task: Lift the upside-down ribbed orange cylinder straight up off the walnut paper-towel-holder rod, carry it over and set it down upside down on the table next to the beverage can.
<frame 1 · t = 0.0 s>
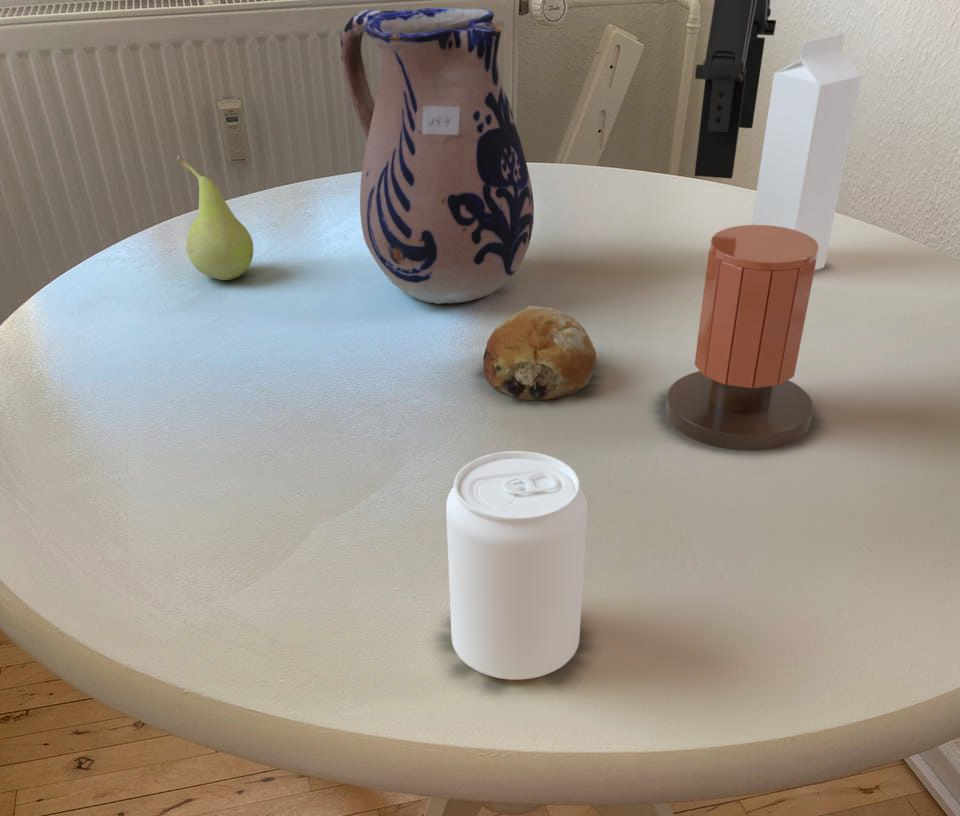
hand: (725, 150, 83), 19 cm above the table, tool pointing down, fingers open, 13 cm apart
bread roll: (537, 381, 96), on the table
beverage can: (515, 646, 68), on the table
milk: (784, 267, 115), on the table
fruit: (223, 279, 115), on the table
ceramic pitcher: (435, 287, 112), on the table
ribbed orange cylinder: (745, 365, 87), point 5 cm above the table, touching towel holder
towel holder: (737, 415, 90), on the table
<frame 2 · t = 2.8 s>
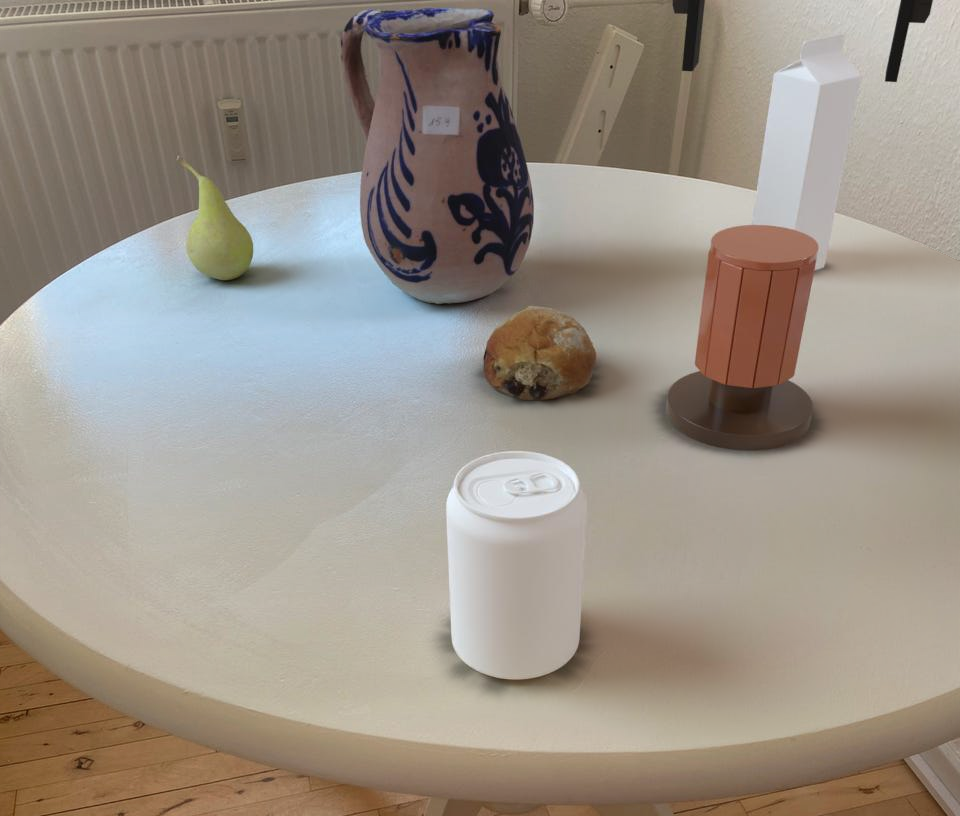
hand: (788, 72, 73), 26 cm above the table, tool pointing down, fingers open, 13 cm apart
nothing on the table moved.
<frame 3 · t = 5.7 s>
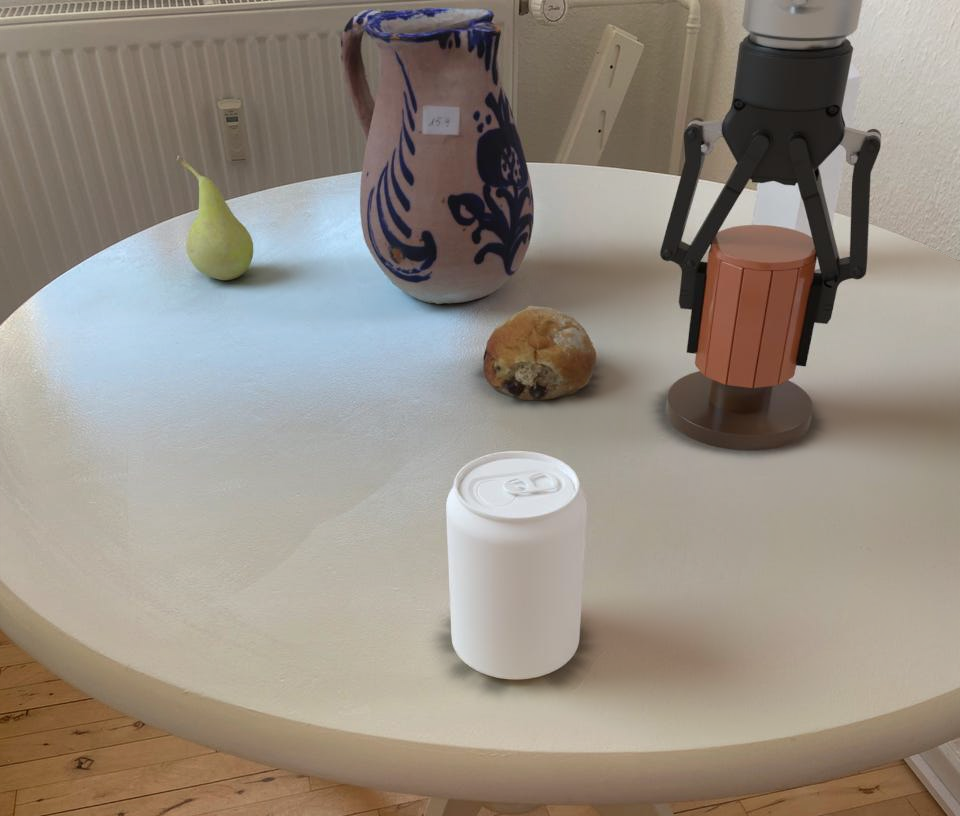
hand: (747, 352, 86), 6 cm above the table, tool pointing down, fingers closed on ribbed orange cylinder, 8 cm apart
ribbed orange cylinder: (745, 365, 87), point 5 cm above the table, touching gripper, towel holder
everything else where it was.
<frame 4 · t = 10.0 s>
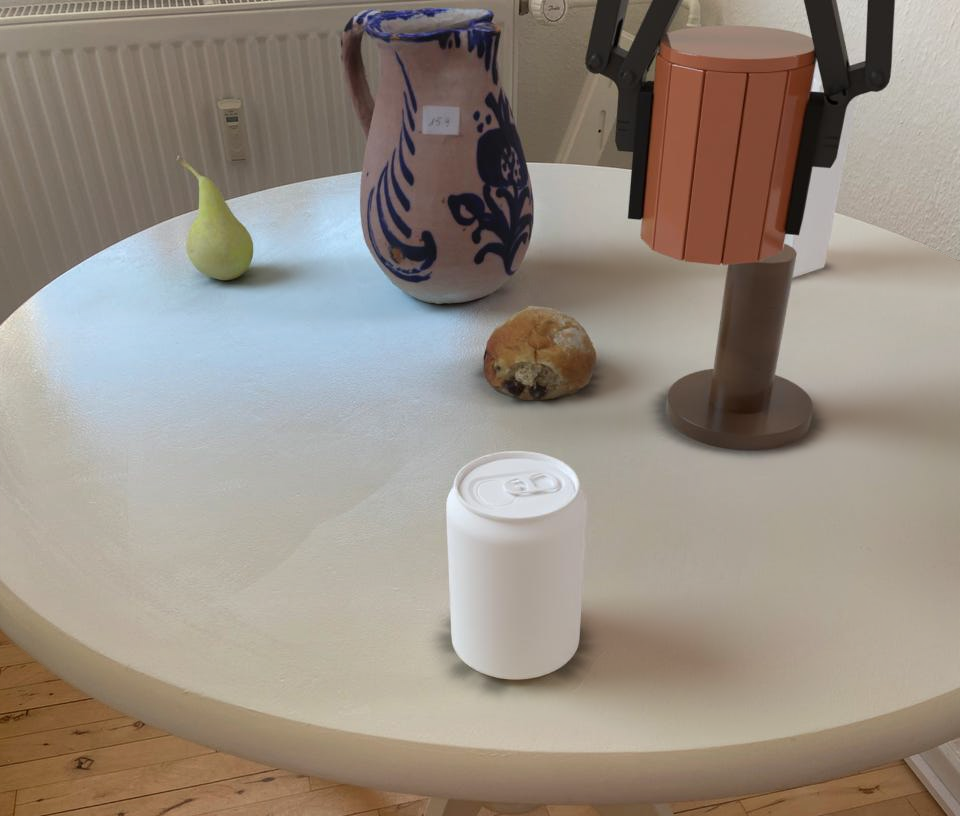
hand: (715, 218, 60), 23 cm above the table, tool pointing down, fingers closed on ribbed orange cylinder, 8 cm apart
ribbed orange cylinder: (712, 238, 61), point 22 cm above the table, touching gripper
everything else where it was.
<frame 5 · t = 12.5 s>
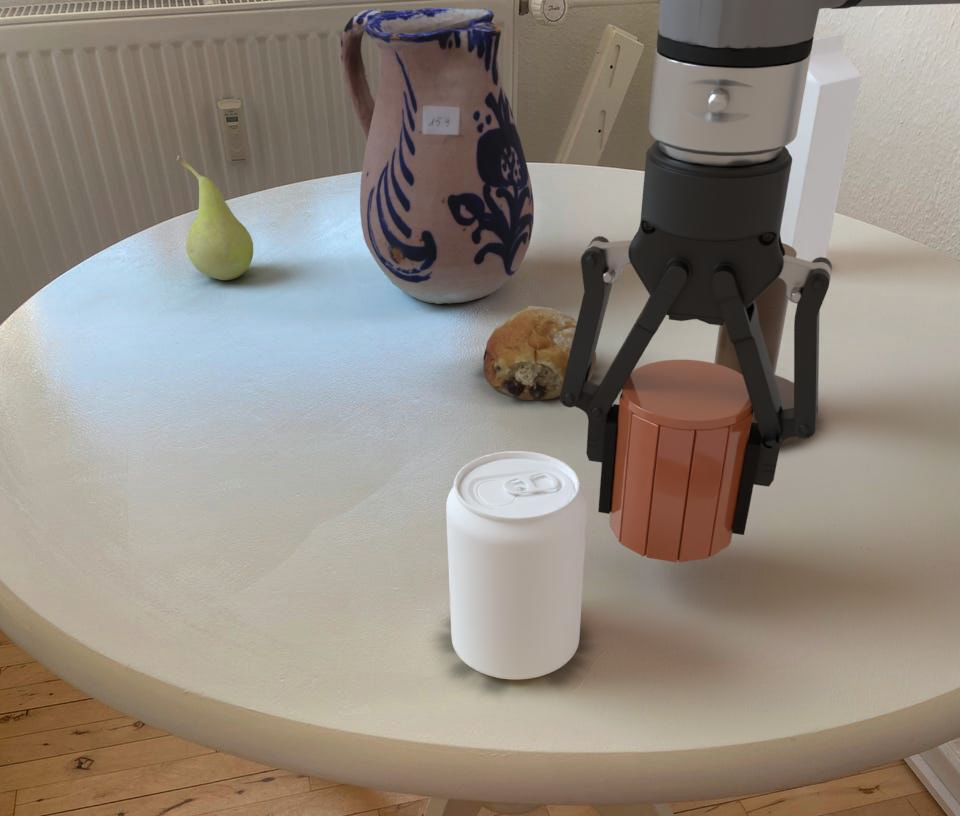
hand: (673, 512, 70), 5 cm above the table, tool pointing down, fingers closed on ribbed orange cylinder, 8 cm apart
ribbed orange cylinder: (671, 526, 70), point 4 cm above the table, touching gripper
everything else where it was.
when the fingers open (1 cm above the table, at t = 14.2 s): ribbed orange cylinder stays where it is, on the table.
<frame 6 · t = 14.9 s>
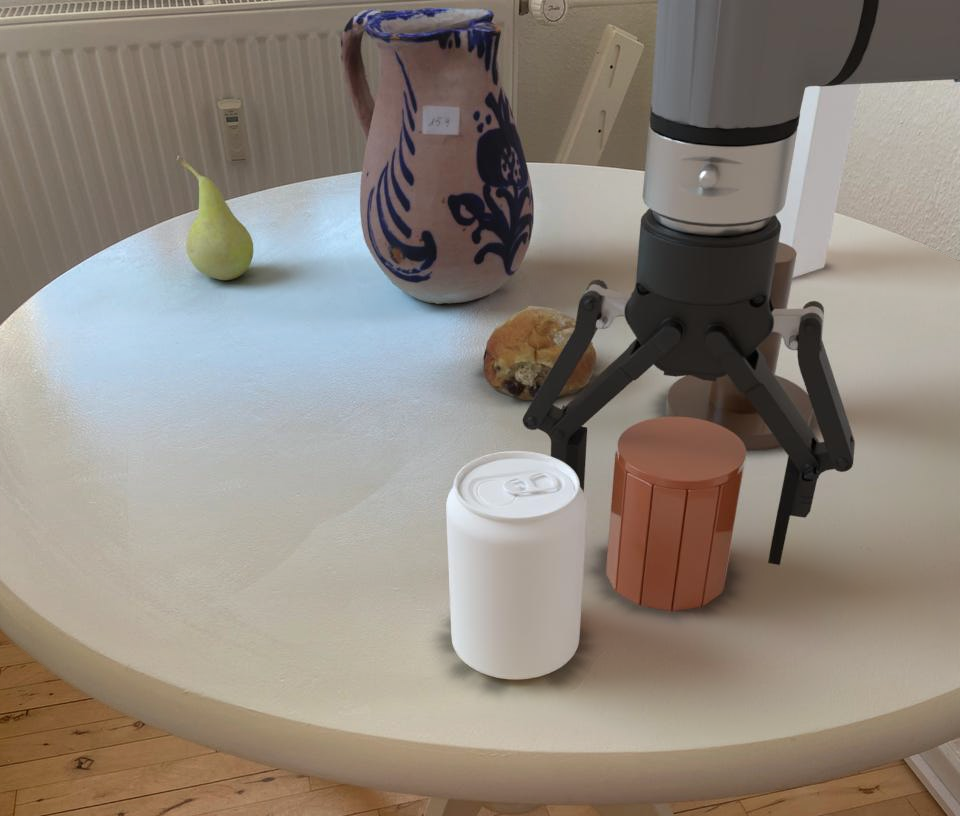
hand: (672, 536, 71), 3 cm above the table, tool pointing down, fingers open, 13 cm apart
ribbed orange cylinder: (665, 574, 73), on the table
everything else where it was.
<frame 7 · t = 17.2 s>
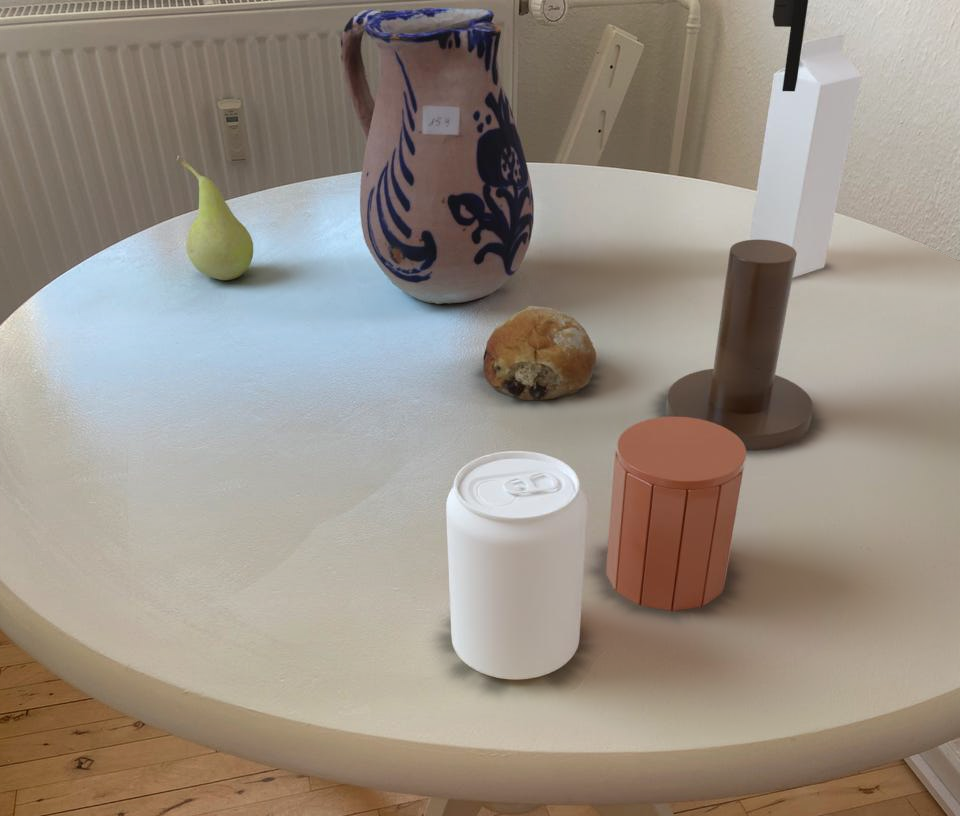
hand: (904, 89, 65), 27 cm above the table, tool pointing down, fingers open, 13 cm apart
nothing on the table moved.
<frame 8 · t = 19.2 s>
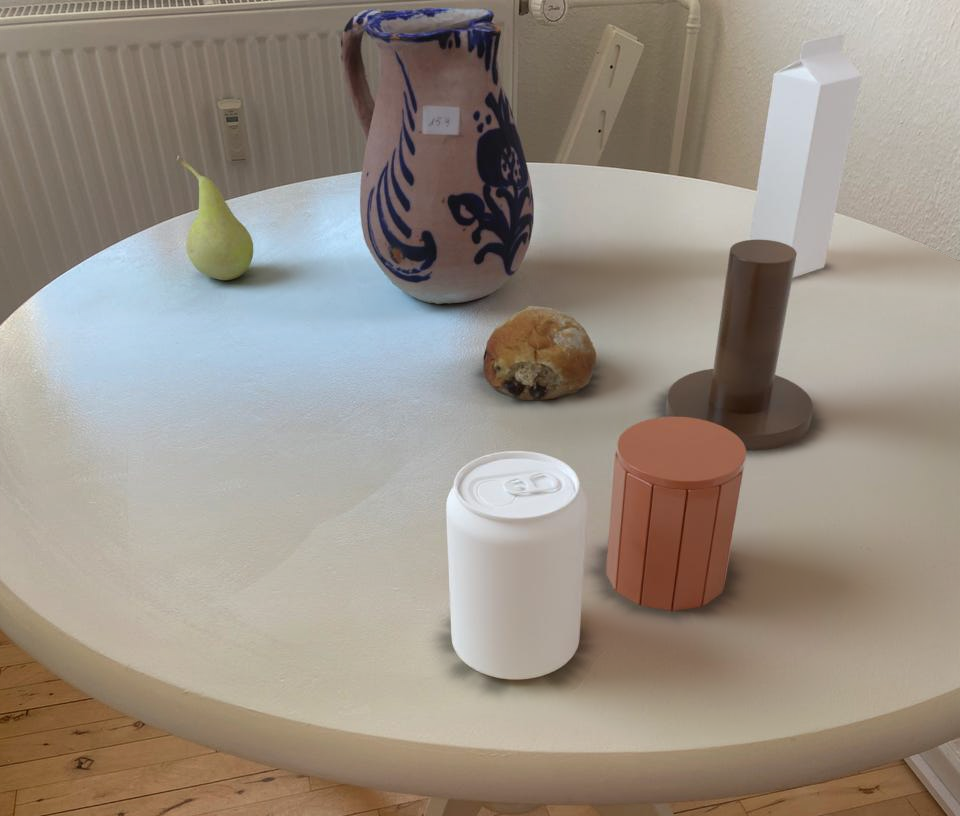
nothing on the table moved.
at the end: ribbed orange cylinder 12.8 cm from the beverage can (horizontally); ribbed orange cylinder on the table; ribbed orange cylinder tilted 0° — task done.
